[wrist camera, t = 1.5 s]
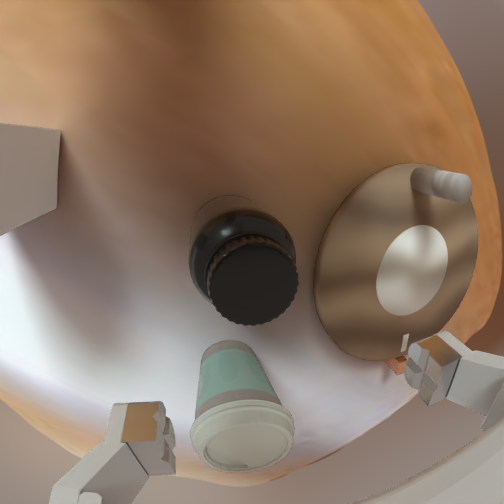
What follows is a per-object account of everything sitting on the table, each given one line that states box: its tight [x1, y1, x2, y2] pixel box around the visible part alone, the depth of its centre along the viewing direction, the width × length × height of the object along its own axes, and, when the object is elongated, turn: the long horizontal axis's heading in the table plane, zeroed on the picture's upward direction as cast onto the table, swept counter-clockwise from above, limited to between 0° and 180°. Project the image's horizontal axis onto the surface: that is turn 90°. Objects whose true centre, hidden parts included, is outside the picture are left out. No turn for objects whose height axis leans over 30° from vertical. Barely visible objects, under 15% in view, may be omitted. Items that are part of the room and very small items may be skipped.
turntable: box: [313, 163, 478, 361], centre depth 26 cm, size 22×22×8 cm
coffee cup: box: [190, 341, 294, 473], centre depth 25 cm, size 8×8×12 cm
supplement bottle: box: [189, 195, 299, 326], centre depth 21 cm, size 7×7×12 cm
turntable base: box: [384, 356, 407, 375], centre depth 30 cm, size 22×18×4 cm
